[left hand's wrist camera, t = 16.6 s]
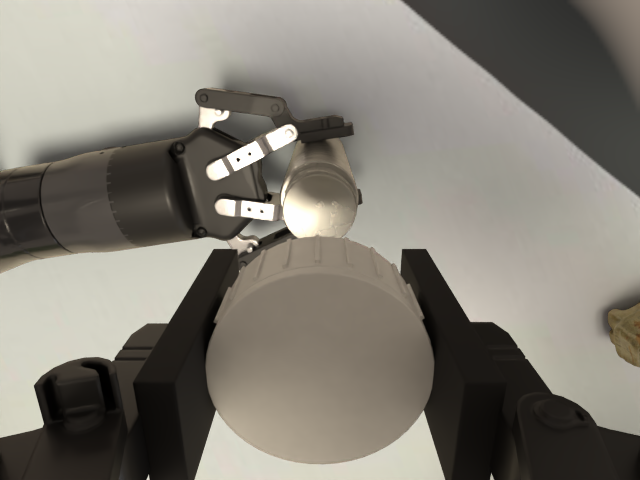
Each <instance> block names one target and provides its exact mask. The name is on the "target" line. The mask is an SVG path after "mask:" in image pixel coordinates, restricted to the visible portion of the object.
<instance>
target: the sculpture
mask: <svg viewBox="0 0 640 480" xmlns="http://www.w3.org/2000/svg"><path fill="white" fill-rule="evenodd" d="M608 324H609V325H610V326H611V328H612V330H611V331H610V332H609V335H610V339H611V342H612V343H613V344H614V345H615V347H616V351H617V353H618V355H619V356H620V357H621V358H623V359H624V360H625V361H626V362H628V363H630V364H632V365H634V366H637V367H640V303H638V304H637V305H635V306H633V307H631V308H629V309H627V310H622V311H621V310H619V309H612V310H611V311H609V312H608Z"/></svg>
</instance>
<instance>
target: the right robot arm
mask: <svg viewBox="0 0 640 480" xmlns="http://www.w3.org/2000/svg"><path fill="white" fill-rule="evenodd" d="M195 100H196V103H197V104H198V105H199V128H197V129H195V130H193V131H192V132H191V133H190V134H189V135H187V136H184V137H179V138H173V139H167V140H161V141H155V142H149V143H143V144H137V145H131V146H125V147H109V148H105V149H103V150H100V151H94V152H89V153H84V154H80V155H77V156H74V157H71V158H68V159H65V160H60V161H55V162H49V163H43V164H37V165H31V166H25V167H18V168H13V169H7V170H3V171H0V274H1V273H3V272H5V271H8V270H10V269H13V268H15V267H17V266H20V265H22V264H25V263H27V262H30V261H34V260H39V259H45V258H51V257H58V256H64V255H71V254H77V253H87V252H113V251H120V250H127V249H134V248H140V247H147V246H153V245H160V244H166V243H173V242H180V241H187V240H193V239H199V238H204V237H212V238H216V239H219V240H223V241H227V242H228V244H229V245H230V247H231V249H238V263H239V270H241V268H242V267H243V266H244V267H246V266H247V265H248V264H249V263H251V262H252V261H253V260H254V259H255V258H256V257H258V256H259V255H260V254H261V251H263V250H264V249H265V250H268V249H270V248H272V247H274V246H276V245H278V244H281V243H284V242H287V239H290V238H291V240H294V239H298V238H297V237H295V236H294V235H293V234H292V233H291V232H290V231H289V229H288V228H287V227H285V228H283V229H281V230H279V231H276V232H274V233H272V234H270V235H268V236H266V237H263V238H261V239H259V238H258V237H257V236H254V235H250V236H243V235H241V234H240V232H241V231H242V230H243V229H244V228H245V227H246V226H247V225H248V224H249V223H250V222H251V221H252V220H253V219H254V218H255V219H263V220H270V221H278V220H284V219H283V213H282V210H281V206H280V193H274V192H268V191H267V186H266V183H265V181H264V179H263V177H262V175H261V173H262V162H261V158H262V157H264V156H266V155H268V154H270V153H271V152H273V151H275V150H277V149H279V148H281V147H283V146H285V145H287V144H289V143H291V142H293V141H300V140H301V144H302V143H309V142H313V141H321V140H327V139H333V138H339V137H346V136H351V135H354V130H353V124H352V122H347V123H344V121H343V117H342V116H337V115H331V116H325V117H319V118H313V119H307V120H297V119H295V118H294V117H293V116H292V115H291V113H290V111H289V109H288V107H287V105H286V102H285V100H284V99H283V98H281V97H275V96H268V95H261V94H254V93H246V92H239V91H232V90H225V89H218V88H204V89H200V90H198V91H197V92H196V95H195ZM232 111H233V112H240V113H247V114H254V115H262V116H269V117H271V118H272V120H273V122H274V124H275V125H276V128H274V129H272V130H270V131H268V132H266V133H264V134H262V135H260V136H258V137H256V138H254V139H252V140H250V141H248V142H246V143H244V142H242V141H240V140H238V139H236V138H234V137H232V136H230V135H228V134H226V133H224V132H222V131H220V130H218V129H216V128H214V126H215V124H216V122H217V121H223V120H225V119H227V118H229V117H230V115H231V112H232ZM357 190H358V205H360V204H362V203H363V202H362V194H361V191H360V189H357ZM262 210H263V211H262Z"/></svg>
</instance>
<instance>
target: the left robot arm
mask: <svg viewBox="0 0 640 480" xmlns="http://www.w3.org/2000/svg"><path fill="white" fill-rule="evenodd" d="M238 275H239V263H238V249H214V250H213V251H212V253H211V255H210V256H209V258H208V259H207V261H206V263H205V264H204V266H203V268H202V269H201V271H200V273H199V274H198V276H197V278H196V279H195V281H194V282H193V284H192V286H191V287H190V289H189V291H188V292H187V294H186V296H185V297H184V299H183V301H182V302H181V304H180V306H179V307H178V309H177V310H176V312H175V314H174V315H173V317H172V319H171V320H170V322H169V324H146V325H145V326H143V327H142V328H141V329H139V330H138V331H136V332H135V333H133V334H132V335H131V336H130V338H129V339H128V340H127V342H126V343H125V345H124V346H123V347H122V350H120V351H119V353H118V354H117V356H116V357H115V360H114V361H112V362H111V361H110V360H108V359H104V358H99V357H90V358H81V359H77V360H73V361H69V362H66V363H64V364H62V365H59V366H57V367H55V368H53V369H51V370H50V371H49V372H47V373H46V374H44V375H43V376H41V378H40V379H39V380H38V381H37V383H36V384H35V385H34V388H35V392H36V396H37V399H38V403H39V407H40V410H41V414H42V418H43V421H44V425H43V428H40V429H37V430H33V431H29V432H25V433H20V434H16V435H11V436H7V437H2V438H0V480H146V479H147V477H148V475H149V478H150V480H194V479H195V476H196V473H197V469H198V466H199V463H200V460H201V457H202V453H203V450H204V447H205V444H206V440H207V437H208V434H209V431H210V427H211V424H212V421H213V418H214V415H215V411H216V408H215V406H214V404H213V402H212V399H211V397H210V394H209V391H208V386H207V378H206V368H205V361H206V353H207V349H208V345H209V341H210V339H211V336H212V334H213V331H214V329H215V327H216V323H214V320H215V317H216V315H217V313H218V310H219V308H220V306H221V303H222V301H223V299H224V296H225V294H226V292H227V290H228V287H230V288H232V286H233V284H234V283H235V281H236V279H237V277H238ZM400 275H401V276H402V278H403V279H404V281H405V283H406V285H407V284H410V286H411V288H412V290H413V292H414V295H415V297H416V299H417V302H418V304H419V306H420V309H421V311H422V313H423V316H424V319H422V321H423V324H424V326H425V328H426V331H427V333H428V336H429V338H430V340H431V345H432V348H433V354H434V360H435V364H434V375H433V384H432V390H431V394H430V397H429V400H428V402H427V404H426V406H425V408H424V412H425V415H426V419H427V422H428V425H429V428H430V432H431V435H432V438H433V441H434V445H435V448H436V451H437V454H438V457H439V461H440V464H441V467H442V470H443V474H444V477H445V480H490V476H491V473H492V475H493V478H494V480H640V436H637V435H633V434H628V433H624V432H619V431H615V430H610V429H606V428H603V427H600V426H597V425H596V423H595V421H594V420H593V418H592V417H591V416H590V414H589V413H588V412H587V411H586V410H584V409H583V408H582V407H581V406H579V405H578V404H576V403H574V402H572V401H570V400H568V399H566V398H564V397H562V396H558V395H554V394H552V392H551V391H550V390H549V388H548V387H547V386H546V384H545V383H544V381H543V380H542V379H541V377H540V376H539V375H538V373H537V372H536V370H535V369H534V368H533V366H532V365H531V364H530V362H529V361H528V360H527V359H525V355H524V354H523V353H522V351H521V350H520V349H519V348H518V347H517V344H516V343H515V342H514V340H513V339H512V338H511V336H510V335H509V333H507V332H506V331H504V330H503V329H502V328H500V327H499V326H497V325H496V324H494V323H493V322H470V321H469V319H468V318H467V316H466V314H465V313H464V311H463V309H462V308H461V306H460V304H459V303H458V301H457V299H456V298H455V296H454V294H453V293H452V291H451V290H450V288H449V286H448V285H447V283H446V281H445V280H444V278H443V276H442V275H441V273H440V271H439V270H438V268H437V267H436V265H435V263H434V262H433V260H432V258H431V257H430V255H429V253H428V252H427V250H426V249H402V259H401V274H400Z"/></svg>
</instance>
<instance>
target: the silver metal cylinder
mask: <svg viewBox="0 0 640 480" xmlns="http://www.w3.org/2000/svg"><path fill="white" fill-rule="evenodd" d="M280 206H281V210H282V213H283V219H284V222H285V224H286V226H287V228H288V229H289V231H290V232H291V233H292V234H293V235H294V236H295V237H297V238H303V237H313V236H316V235H320V236H326V237H336V238H342V237H343V236H344V235H345V234H346V233H347V232H348V231H349V229H350V228H351V226H352V224H353V222H354V219H355V216H356V213H357V207H358V190H357V187H356V184H355V181H354V178H353V174H352V171H351V168H350V165H349V162H348V159H347V156H346V153H345V150H344V147H343V144H342V142H341V141H340V139H339V138H333V139H327V140H321V141H313V142H309V143H302V144H301V140H300V141H298V142H297V143H296V146H295V149H294V152H293V155H292V158H291V161H290V164H289V167H288V169H287V172H286V175H285V178H284V181H283V184H282V187H281V191H280Z"/></svg>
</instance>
